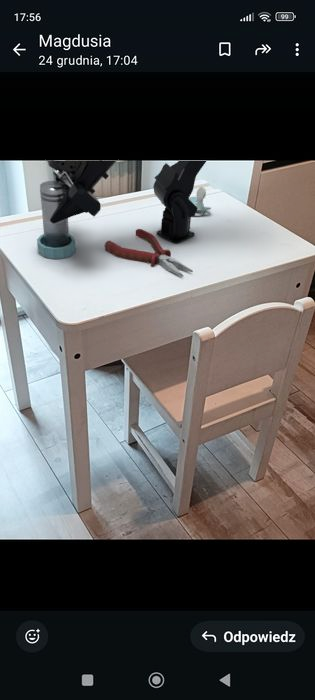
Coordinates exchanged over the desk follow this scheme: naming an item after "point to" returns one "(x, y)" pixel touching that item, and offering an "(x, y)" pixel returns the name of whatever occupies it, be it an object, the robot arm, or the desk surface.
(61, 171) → the robot arm
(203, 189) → the pacifier
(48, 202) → the piston
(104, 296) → the desk surface
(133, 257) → the pliers
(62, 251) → the ring collar
